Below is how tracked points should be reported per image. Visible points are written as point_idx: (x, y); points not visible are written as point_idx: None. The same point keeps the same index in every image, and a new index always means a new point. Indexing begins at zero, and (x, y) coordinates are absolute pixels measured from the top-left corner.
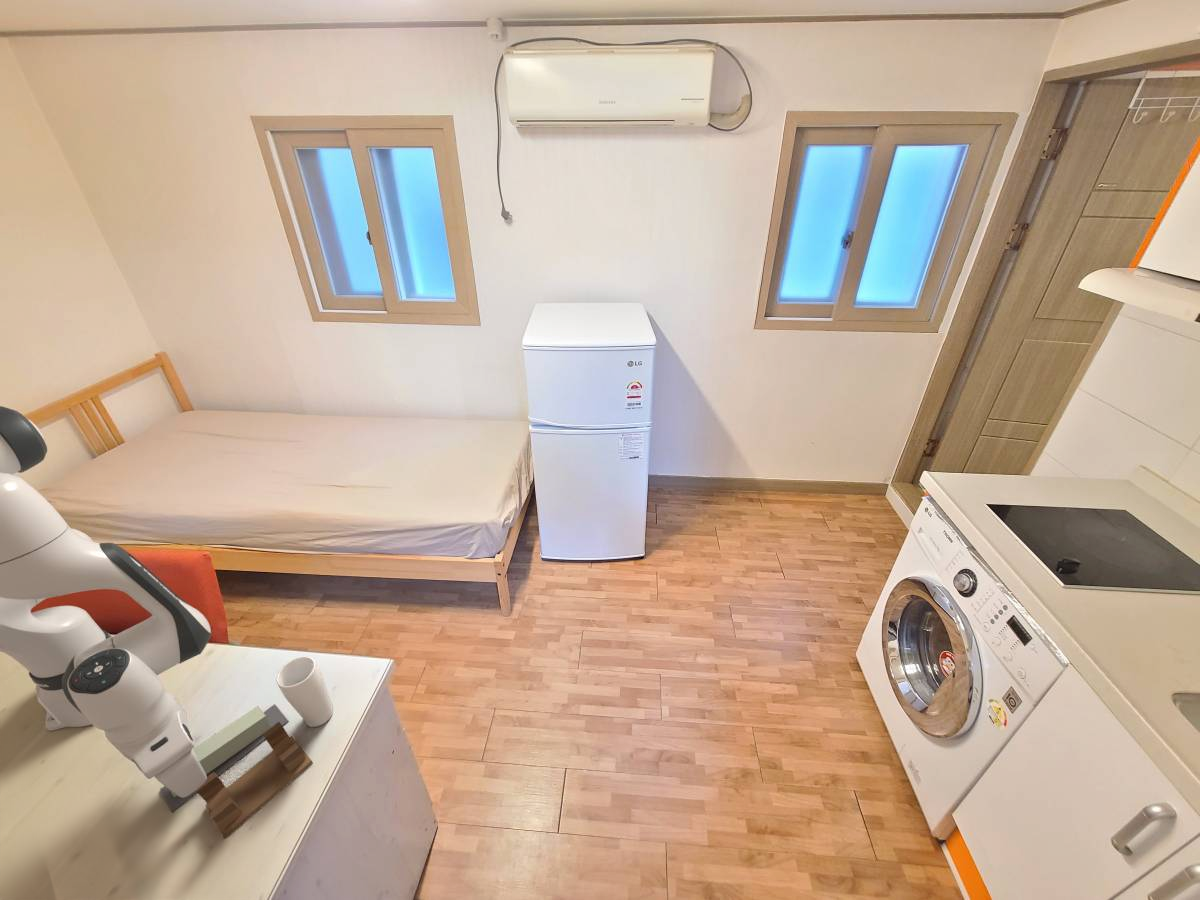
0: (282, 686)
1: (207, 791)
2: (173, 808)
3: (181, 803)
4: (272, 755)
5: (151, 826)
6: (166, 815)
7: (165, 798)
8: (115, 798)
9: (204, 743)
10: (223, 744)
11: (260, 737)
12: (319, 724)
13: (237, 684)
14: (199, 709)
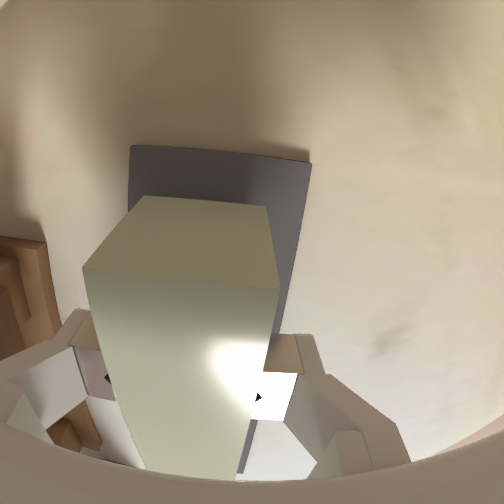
0: None
1: None
2: (138, 157)
3: (132, 190)
4: (72, 416)
5: (156, 63)
6: (145, 123)
7: (232, 155)
8: (449, 63)
9: (225, 455)
10: (144, 463)
11: None
12: None
13: (404, 440)
14: (454, 373)
